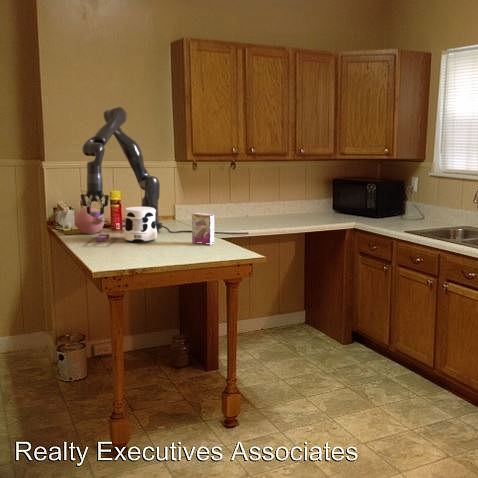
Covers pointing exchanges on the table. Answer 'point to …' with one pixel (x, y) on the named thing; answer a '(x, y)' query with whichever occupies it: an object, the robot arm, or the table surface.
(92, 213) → the purple stepped cylinder
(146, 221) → the white black spotted canister
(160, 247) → the table surface
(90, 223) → the pink piggy bank
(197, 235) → the candy bar box
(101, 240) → the dish bottom
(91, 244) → the brown board with circles
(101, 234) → the dish top
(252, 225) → the table surface
